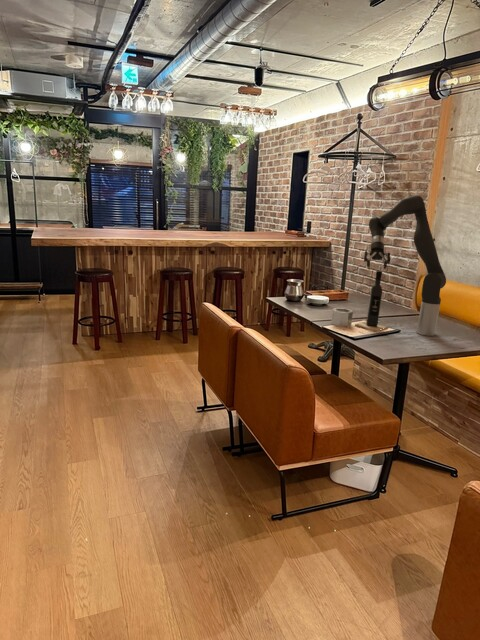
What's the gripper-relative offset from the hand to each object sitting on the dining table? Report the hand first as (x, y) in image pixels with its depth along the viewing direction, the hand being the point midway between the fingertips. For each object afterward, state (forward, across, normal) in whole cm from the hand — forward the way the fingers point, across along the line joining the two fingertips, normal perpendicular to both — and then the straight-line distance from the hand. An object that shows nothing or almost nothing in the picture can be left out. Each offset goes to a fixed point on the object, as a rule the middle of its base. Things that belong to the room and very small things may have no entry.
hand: (376, 267), depth 256 cm
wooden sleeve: (+31, -16, +13) cm, 38 cm away
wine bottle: (+30, 0, +14) cm, 33 cm away
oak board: (+31, 0, +14) cm, 34 cm away
